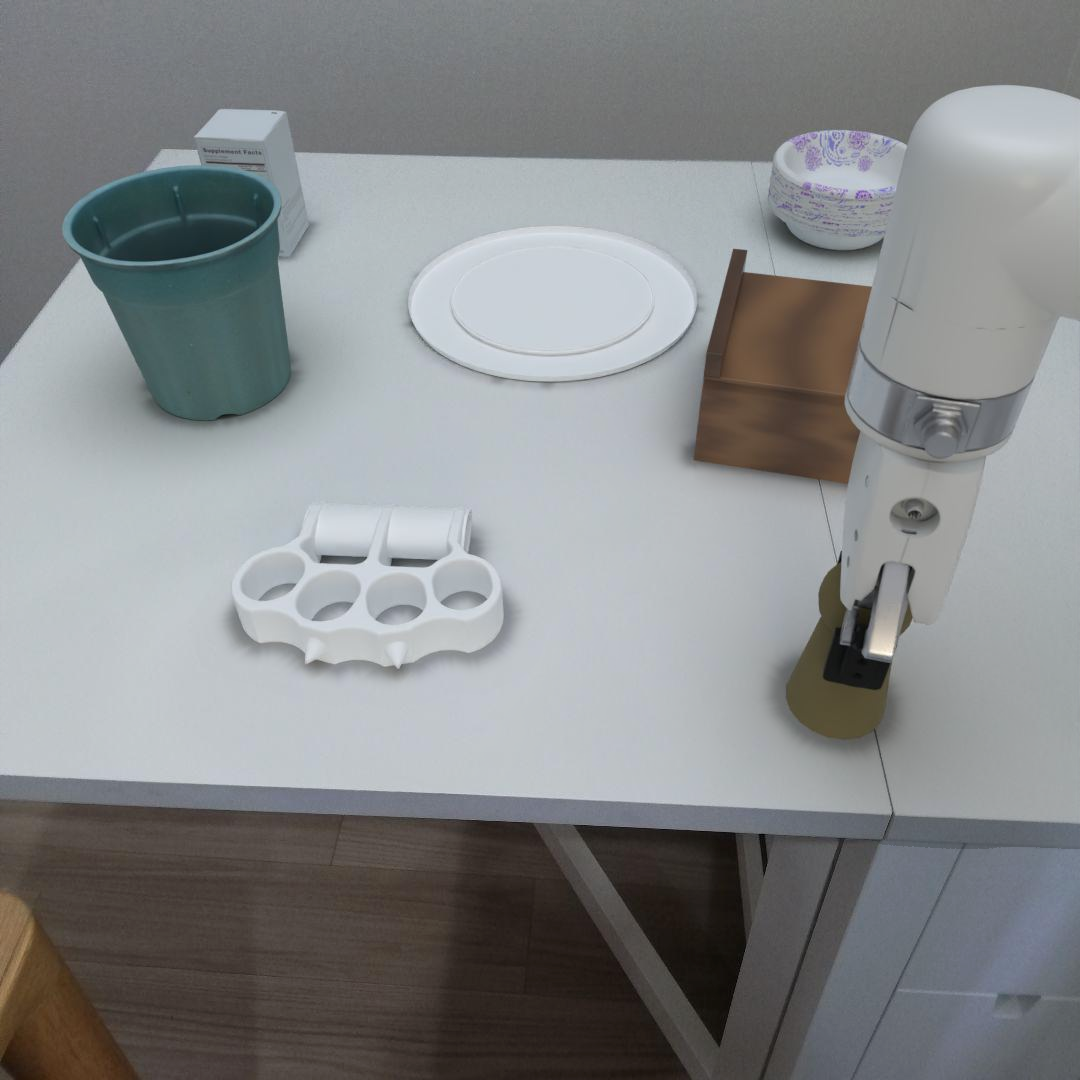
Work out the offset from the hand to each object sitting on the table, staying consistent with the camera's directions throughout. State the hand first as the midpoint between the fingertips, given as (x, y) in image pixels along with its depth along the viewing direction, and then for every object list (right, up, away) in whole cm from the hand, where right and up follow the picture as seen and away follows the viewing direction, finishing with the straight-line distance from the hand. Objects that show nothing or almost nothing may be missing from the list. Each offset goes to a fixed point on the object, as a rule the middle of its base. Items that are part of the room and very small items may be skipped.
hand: (853, 639), depth 57 cm
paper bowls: (+13, +39, +48) cm, 63 cm away
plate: (-17, +29, +39) cm, 51 cm away
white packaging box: (-48, +38, +49) cm, 78 cm away
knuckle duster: (-30, +2, +11) cm, 32 cm away
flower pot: (-46, +20, +30) cm, 59 cm away
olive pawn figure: (0, -4, +4) cm, 6 cm away
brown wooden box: (+3, +16, +25) cm, 30 cm away
